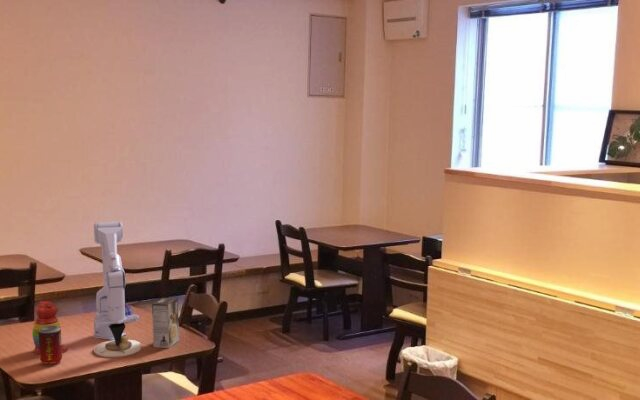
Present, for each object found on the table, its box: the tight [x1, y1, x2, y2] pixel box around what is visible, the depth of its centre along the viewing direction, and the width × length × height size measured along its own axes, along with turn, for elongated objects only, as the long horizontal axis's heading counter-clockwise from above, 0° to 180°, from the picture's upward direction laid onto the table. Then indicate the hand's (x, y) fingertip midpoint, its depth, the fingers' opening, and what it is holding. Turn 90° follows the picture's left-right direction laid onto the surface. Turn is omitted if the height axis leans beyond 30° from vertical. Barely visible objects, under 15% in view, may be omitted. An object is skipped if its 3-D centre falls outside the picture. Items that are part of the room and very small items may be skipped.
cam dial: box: [105, 335, 132, 351], centre depth 268 cm, size 13×9×5 cm
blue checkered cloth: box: [125, 305, 140, 319], centre depth 309 cm, size 12×12×5 cm
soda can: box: [38, 326, 63, 367], centre depth 256 cm, size 7×7×12 cm
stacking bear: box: [32, 300, 68, 356], centre depth 269 cm, size 11×10×18 cm
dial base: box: [93, 339, 142, 358], centre depth 271 cm, size 16×16×1 cm
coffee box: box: [151, 297, 180, 349], centre depth 276 cm, size 9×6×16 cm
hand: (117, 344), depth 262 cm, fingers closed
